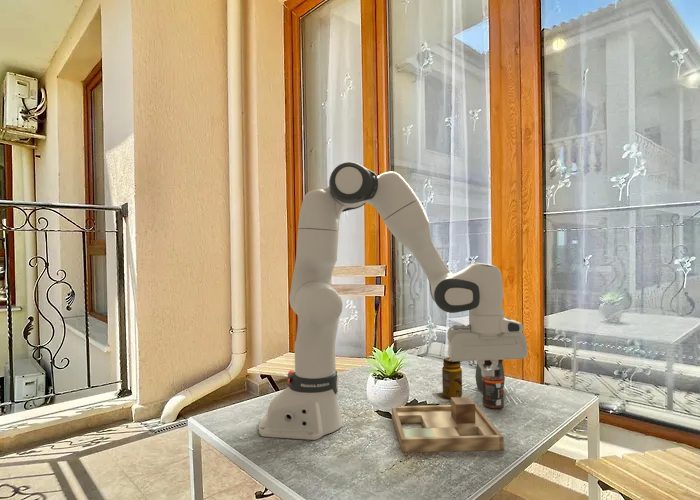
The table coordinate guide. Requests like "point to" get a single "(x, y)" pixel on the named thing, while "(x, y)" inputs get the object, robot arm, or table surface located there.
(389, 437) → the table surface
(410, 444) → the wooden compartment tray
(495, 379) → the supplement bottle
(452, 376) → the condiment
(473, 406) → the walnut block
